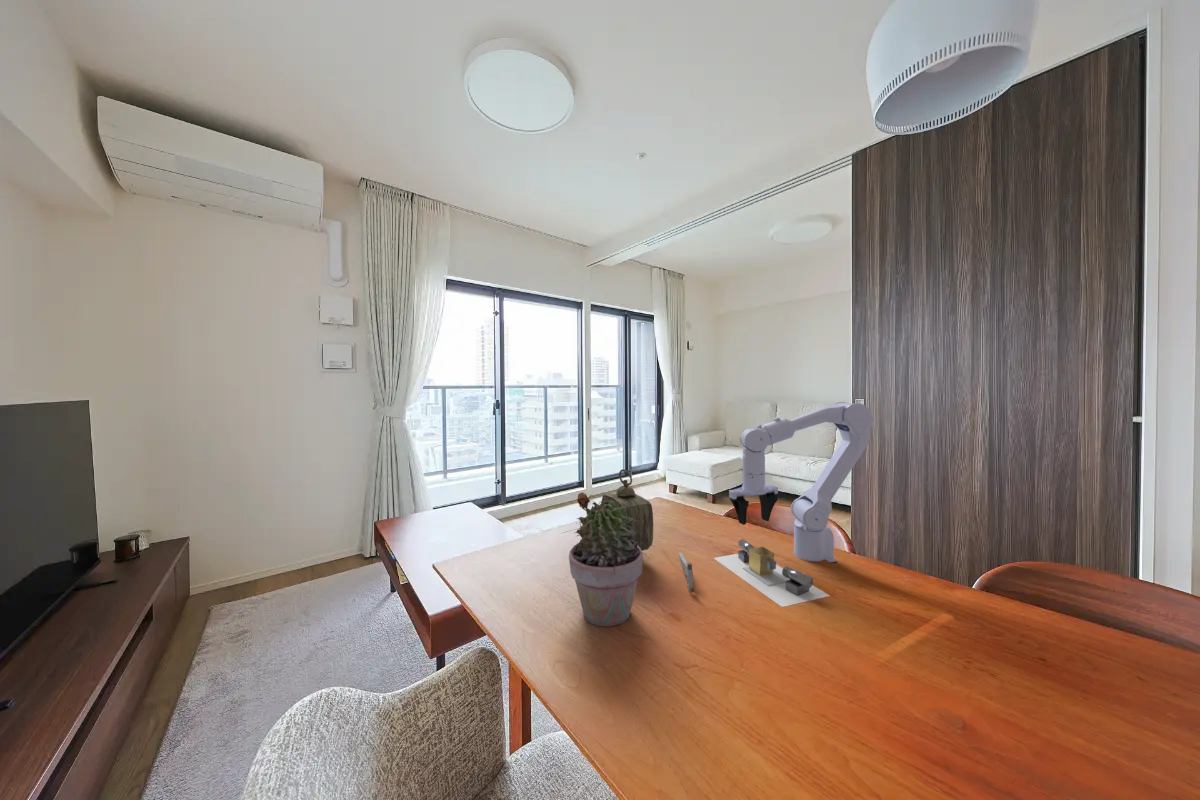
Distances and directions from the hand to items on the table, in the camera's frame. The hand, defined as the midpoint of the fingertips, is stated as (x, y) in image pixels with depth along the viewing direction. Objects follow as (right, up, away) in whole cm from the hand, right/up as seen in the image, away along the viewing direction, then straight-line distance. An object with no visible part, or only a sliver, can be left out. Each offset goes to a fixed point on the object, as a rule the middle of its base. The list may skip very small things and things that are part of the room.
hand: (753, 521), depth 109 cm
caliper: (-21, -11, -7) cm, 24 cm away
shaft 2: (+2, -10, -19) cm, 22 cm away
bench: (-2, -10, -12) cm, 16 cm away
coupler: (-2, -9, -10) cm, 14 cm away
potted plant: (-40, -12, -25) cm, 49 cm away
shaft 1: (-3, -9, -3) cm, 10 cm away
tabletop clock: (-35, -11, +1) cm, 36 cm away
